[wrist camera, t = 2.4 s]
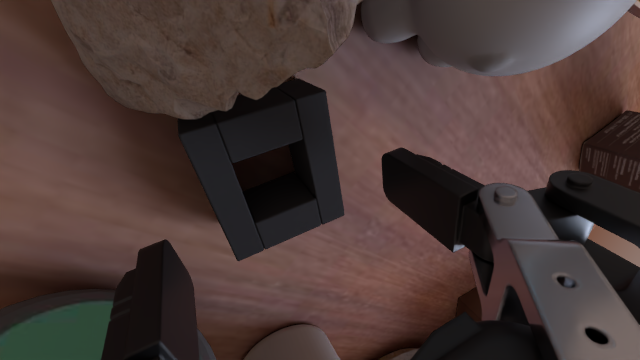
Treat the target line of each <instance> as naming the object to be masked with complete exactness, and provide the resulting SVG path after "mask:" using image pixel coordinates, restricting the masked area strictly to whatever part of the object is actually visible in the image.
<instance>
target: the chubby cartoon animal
mask: <svg viewBox="0 0 640 360" xmlns="http://www.w3.org/2000/svg"><path fill="white" fill-rule="evenodd" d="M636 1H637V0H363V1H362V5H361V19H362V24H363V27H364V29H365V32H366V33H367V35H368V36H369V37H370V38H371V39H372V40H374V41H376V42H379V43H395V42H399V41H403V40H405V39H408V38H410V37H412V36H414V35H418V49H419V52H420V54H421V56H422V58H423V59H424V60H425V61H426V62H427V63H429V64H431V65H434V66H439V67H451V66H452V67H454V68H457V69H459V70H462V71H465V72H468V73H472V74H476V75H483V76H508V75H516V74H521V73H526V72H530V71H533V70H537V69H540V68H543V67H545V66H548V65H551V64H553V63H555V62H558V61H560V60H562V59H564V58H566V57H568V56H570V55H571V54H573V53H575V52H577V51H578V50H580V49H582V48H583V47H585V46H586V45H588V44H589V43H591V42H592V41H594V40H595V39H596V38H598V37H599V36H600V35H601V34H603V33H604V32H605V31H606V30H608V29H609V28H610V27H611V26H612V25H613V24H614V23H616V22H617V21H618V20H619V19H620V18H621V17H622V16H623V15H624V14H625V13H626V12H627V11H628V10H629V9H630V7H631V6H632V5H633V4H634V3H635V2H636Z"/></svg>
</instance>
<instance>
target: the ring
mask: <svg viewBox="0 0 640 360" xmlns="http://www.w3.org/2000/svg"><path fill="white" fill-rule="evenodd" d="M628 12H630V13H631V14H633V15H634V16H636V17H638V18H640V0H637V1H636V2H635V3H634V4H633V5H632V6H631V7H630V9H629V10H628Z"/></svg>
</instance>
